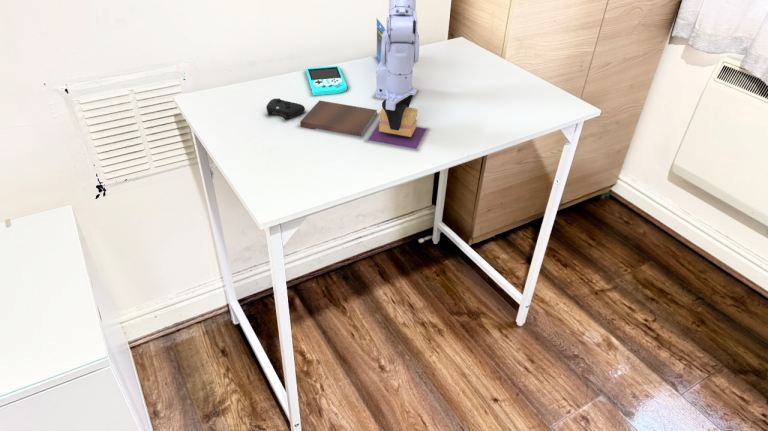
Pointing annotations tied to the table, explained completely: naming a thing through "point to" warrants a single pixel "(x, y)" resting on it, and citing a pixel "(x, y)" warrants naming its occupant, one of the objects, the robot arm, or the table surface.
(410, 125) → the sandwich
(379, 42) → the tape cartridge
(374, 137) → the felt cloth
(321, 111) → the cutting board
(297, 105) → the gaming controller
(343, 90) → the handheld game console
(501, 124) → the table surface
